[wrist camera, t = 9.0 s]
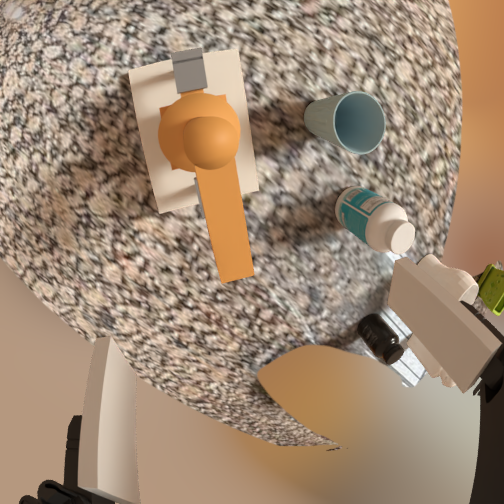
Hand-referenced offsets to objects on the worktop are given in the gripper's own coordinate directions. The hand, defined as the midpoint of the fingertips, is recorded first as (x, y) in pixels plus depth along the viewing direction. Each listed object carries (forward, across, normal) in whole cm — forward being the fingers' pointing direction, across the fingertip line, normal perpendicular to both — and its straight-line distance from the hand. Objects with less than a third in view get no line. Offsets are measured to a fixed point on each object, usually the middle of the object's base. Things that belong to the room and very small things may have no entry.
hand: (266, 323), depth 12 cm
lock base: (+29, 0, +6) cm, 30 cm away
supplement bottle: (+29, +30, -41) cm, 58 cm away
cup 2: (+30, +46, -30) cm, 62 cm away
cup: (+30, +18, +5) cm, 35 cm away
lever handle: (+25, 0, +5) cm, 25 cm away
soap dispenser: (+29, +51, -57) cm, 81 cm away
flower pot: (+30, +86, -48) cm, 102 cm away
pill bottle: (+30, +23, -10) cm, 39 cm away
